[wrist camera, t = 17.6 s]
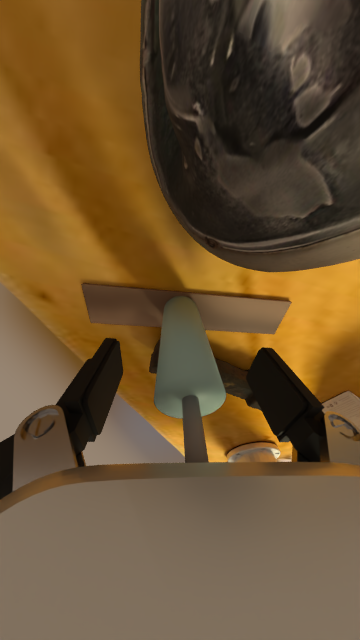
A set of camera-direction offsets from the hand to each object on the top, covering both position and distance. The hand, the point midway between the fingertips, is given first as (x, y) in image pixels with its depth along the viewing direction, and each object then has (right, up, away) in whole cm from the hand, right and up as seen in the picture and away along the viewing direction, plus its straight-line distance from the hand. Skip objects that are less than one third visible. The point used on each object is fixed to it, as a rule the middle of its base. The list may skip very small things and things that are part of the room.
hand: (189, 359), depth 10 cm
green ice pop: (-1, +3, +5) cm, 6 cm away
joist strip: (0, +4, +5) cm, 6 cm away
